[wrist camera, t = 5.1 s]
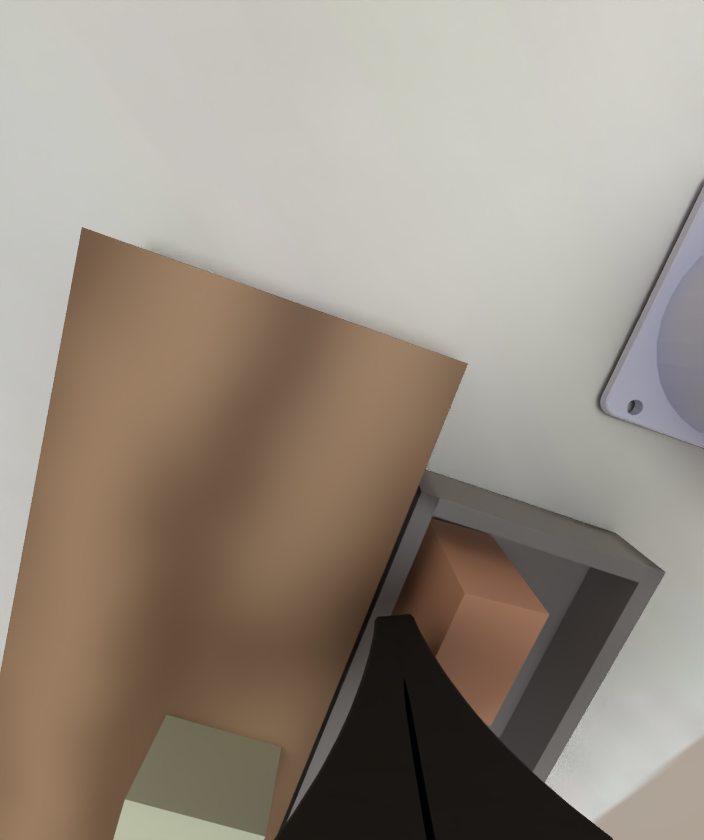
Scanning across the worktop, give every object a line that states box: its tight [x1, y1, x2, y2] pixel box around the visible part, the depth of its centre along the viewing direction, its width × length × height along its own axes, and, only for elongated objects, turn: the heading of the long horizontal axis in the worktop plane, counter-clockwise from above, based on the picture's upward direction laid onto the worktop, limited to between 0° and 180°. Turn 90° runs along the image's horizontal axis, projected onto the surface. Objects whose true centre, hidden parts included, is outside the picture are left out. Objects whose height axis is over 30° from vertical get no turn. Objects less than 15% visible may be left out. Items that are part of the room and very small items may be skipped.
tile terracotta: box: [391, 518, 549, 725], centre depth 13 cm, size 4×4×2 cm
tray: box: [278, 470, 665, 833], centre depth 16 cm, size 8×18×2 cm, turn 161°
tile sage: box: [113, 715, 281, 840], centre depth 13 cm, size 4×4×2 cm
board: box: [0, 227, 468, 840], centre depth 15 cm, size 10×24×3 cm, turn 161°
